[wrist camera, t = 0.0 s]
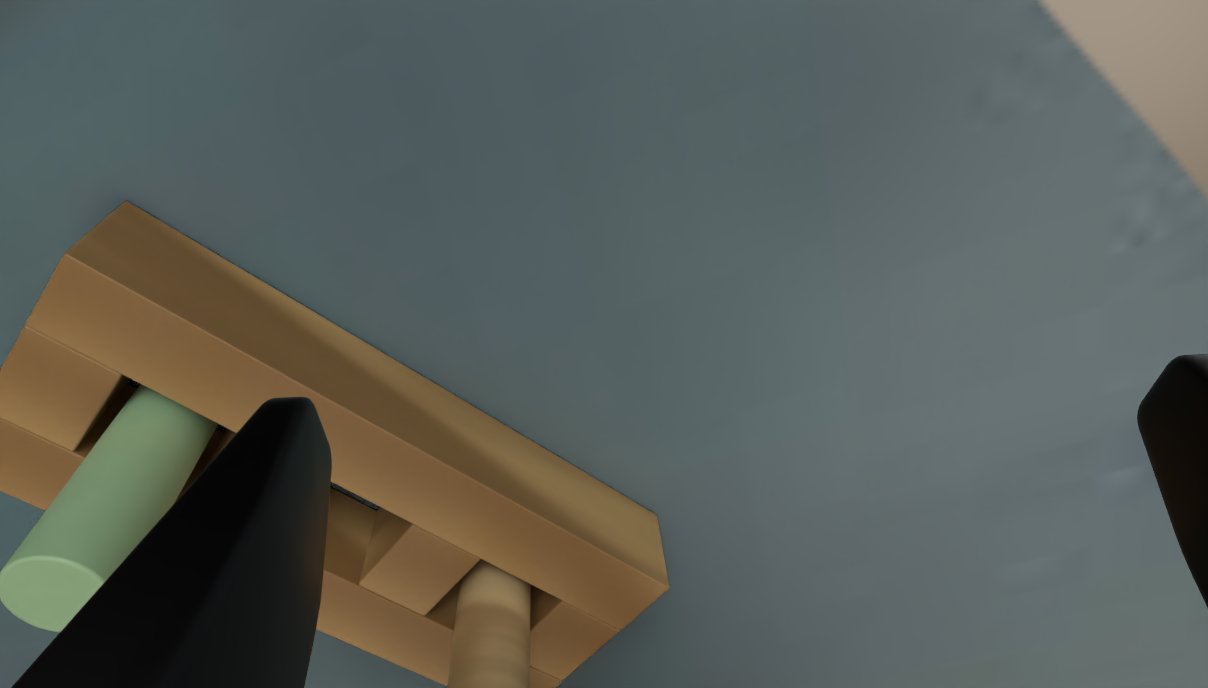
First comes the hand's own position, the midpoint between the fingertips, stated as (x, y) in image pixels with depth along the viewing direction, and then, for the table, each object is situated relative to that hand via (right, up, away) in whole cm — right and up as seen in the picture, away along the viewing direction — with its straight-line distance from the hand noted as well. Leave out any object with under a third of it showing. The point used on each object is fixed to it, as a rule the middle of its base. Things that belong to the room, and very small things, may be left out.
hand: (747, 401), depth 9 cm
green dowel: (-14, 0, +17) cm, 22 cm away
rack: (-10, -3, +19) cm, 22 cm away
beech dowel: (-5, -6, +21) cm, 23 cm away
